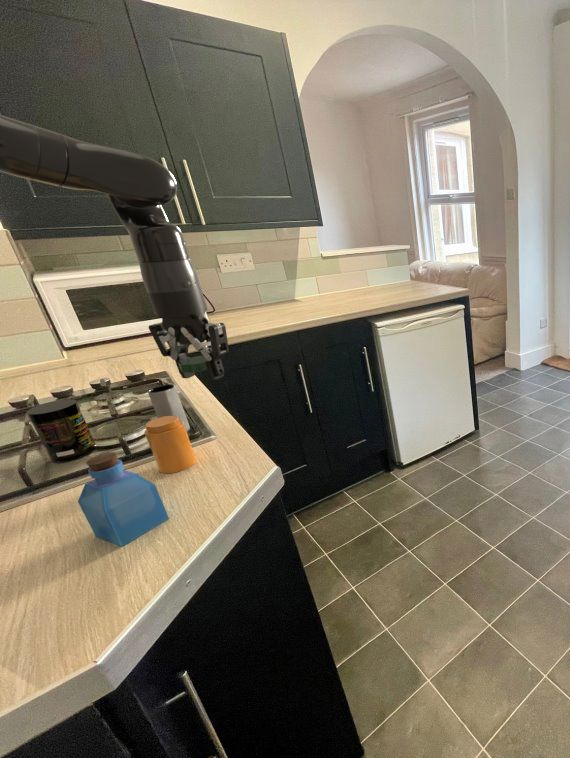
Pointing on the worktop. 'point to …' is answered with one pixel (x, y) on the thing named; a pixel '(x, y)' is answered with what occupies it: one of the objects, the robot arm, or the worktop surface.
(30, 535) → the worktop surface
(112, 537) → the perfume bottle
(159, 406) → the planter
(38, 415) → the supplement container
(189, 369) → the lid
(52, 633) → the worktop surface
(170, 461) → the jar
